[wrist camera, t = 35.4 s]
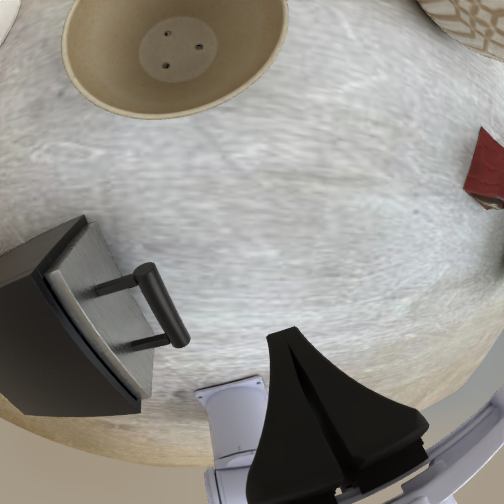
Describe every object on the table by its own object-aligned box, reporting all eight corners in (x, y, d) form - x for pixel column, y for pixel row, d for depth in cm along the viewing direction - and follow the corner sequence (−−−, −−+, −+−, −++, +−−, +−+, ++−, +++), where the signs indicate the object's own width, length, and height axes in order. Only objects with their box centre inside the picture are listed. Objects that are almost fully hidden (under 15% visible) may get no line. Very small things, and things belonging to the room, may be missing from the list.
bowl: (87, 107, 14) (33, 105, 7) (140, -15, 10) (120, -66, 4) (225, 137, 17) (243, 146, 11) (274, 15, 13) (316, -28, 7)
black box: (84, 214, 17) (30, 274, 10) (147, 336, 23) (141, 413, 16) (-17, 265, 16) (-60, 317, 9) (44, 356, 22) (24, 414, 15)
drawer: (149, 201, 17) (127, 244, 11) (200, 324, 22) (206, 388, 16) (-8, 269, 16) (-44, 313, 10) (51, 356, 21) (34, 405, 15)
